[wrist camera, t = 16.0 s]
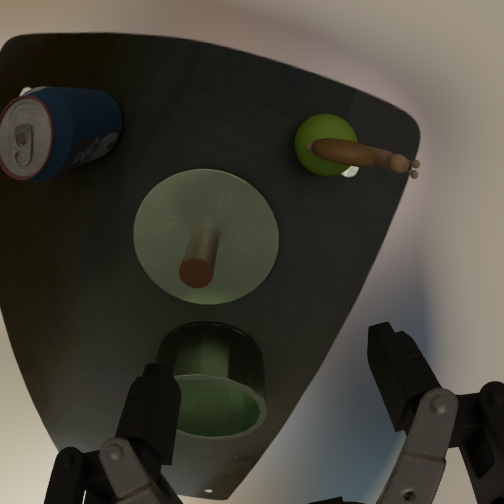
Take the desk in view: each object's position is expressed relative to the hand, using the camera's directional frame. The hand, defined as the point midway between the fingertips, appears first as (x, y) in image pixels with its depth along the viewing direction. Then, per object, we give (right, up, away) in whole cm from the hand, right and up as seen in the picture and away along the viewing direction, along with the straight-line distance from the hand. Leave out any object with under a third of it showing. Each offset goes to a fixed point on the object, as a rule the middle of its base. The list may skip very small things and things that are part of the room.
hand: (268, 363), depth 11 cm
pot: (-6, -10, +27) cm, 29 cm away
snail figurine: (+6, +15, +16) cm, 22 cm away
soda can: (-16, +17, +14) cm, 27 cm away
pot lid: (-5, +5, +19) cm, 20 cm away
